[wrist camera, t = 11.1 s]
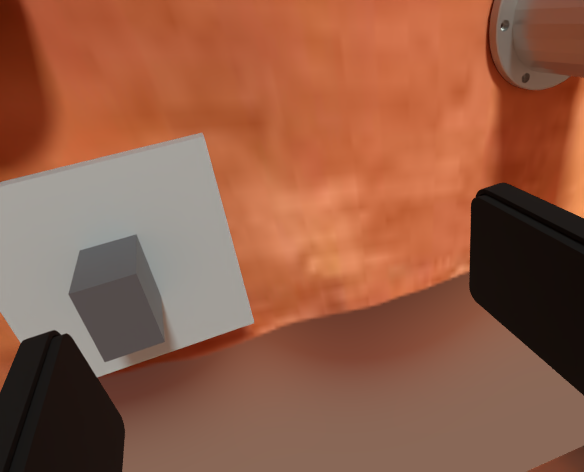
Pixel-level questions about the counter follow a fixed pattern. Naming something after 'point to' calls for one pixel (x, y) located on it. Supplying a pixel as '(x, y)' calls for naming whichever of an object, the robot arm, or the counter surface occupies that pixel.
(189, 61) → the counter surface
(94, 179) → the lid
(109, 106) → the counter surface
